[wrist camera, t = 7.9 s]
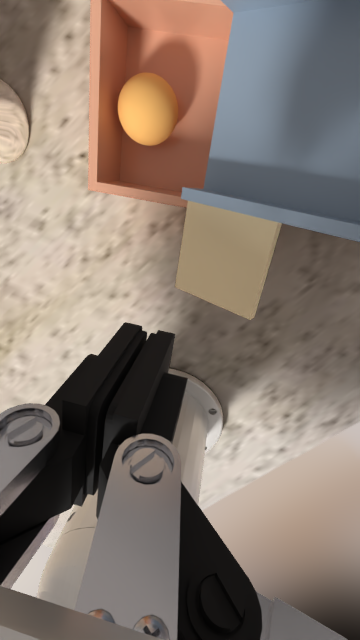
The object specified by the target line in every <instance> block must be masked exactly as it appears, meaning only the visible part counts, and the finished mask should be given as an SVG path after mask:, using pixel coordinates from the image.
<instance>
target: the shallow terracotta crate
mask: <svg viewBox="0 0 360 640" xmlns="http://www.w3.org/2000/svg"><path fill="white" fill-rule="evenodd" d="M232 19H233V12H232V11H231V10H230V9H229V8H228V7H227V6H226V5H225V4H224V3H223V2H222V1H221V0H91V13H90V92H89V170H88V190H92V191H97V192H103V193H108V194H114V195H119V196H125V197H130V198H136V199H141V200H146V201H152V202H157V203H163V204H168V205H174V206H179V207H185V208H187V203H188V200H184V199H181V194H182V187H187V188H199V189H203V188H204V182H205V177H206V171H207V165H208V159H209V153H210V147H211V141H212V136H213V130H214V124H215V118H216V112H217V106H218V100H219V95H220V89H221V83H222V77H223V71H224V65H225V59H226V54H227V48H228V42H229V36H230V30H231V24H232ZM139 73H153V74H156V75H158V76H160V77H162V78H163V79H164V80H165V81H167V83H168V84H169V85H170V86H171V88H172V89H173V91H174V94H175V96H176V99H177V103H178V119H177V123H176V126H175V128H174V130H173V132H172V134H171V135H170V136H169V137H168V138H167V139H166V140H165V141H163V142H162V143H160V144H157V145H151V146H149V145H143V144H140V143H138V142H136V141H134V140H133V139H132V138H131V137H130V136H129V135H128V134H127V133H126V132H125V130H124V128H123V127H122V125H121V122H120V119H119V115H118V99H119V95H120V92H121V90H122V88H123V86H124V84H125V83H126V82H127V81H128V80H129V79H130V78H131V77H133V76H135V75H137V74H139Z"/></svg>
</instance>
